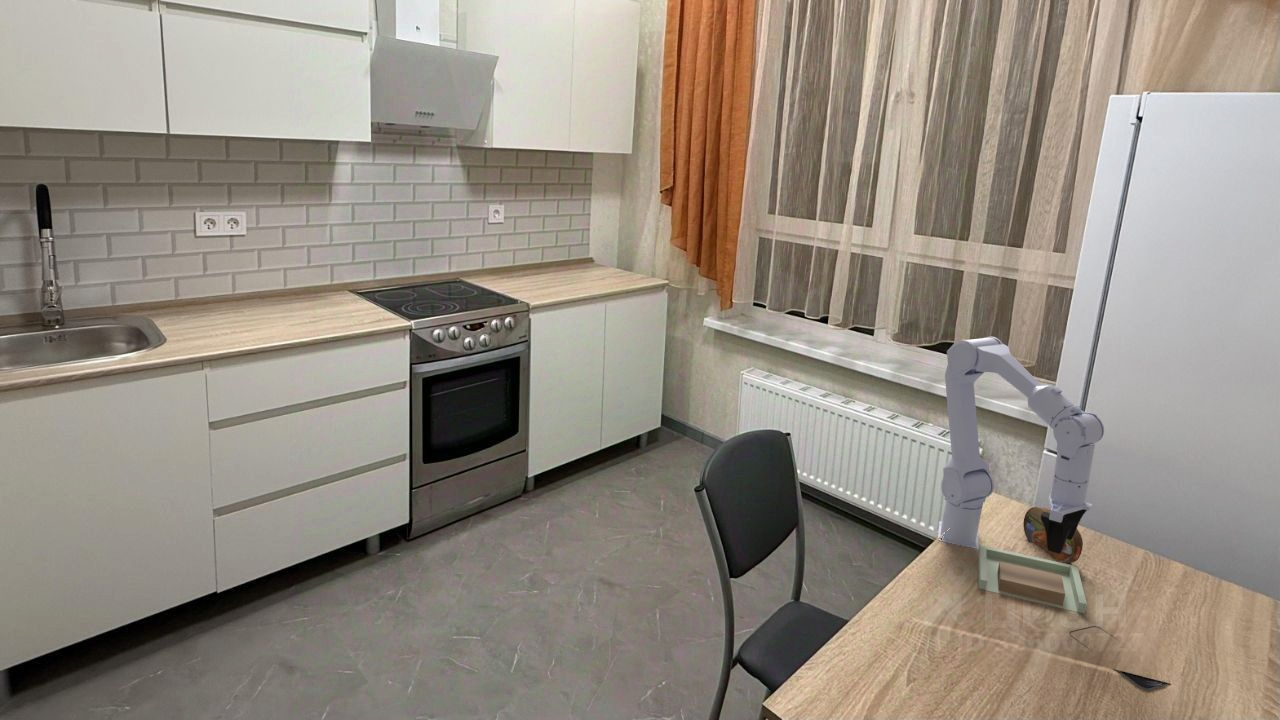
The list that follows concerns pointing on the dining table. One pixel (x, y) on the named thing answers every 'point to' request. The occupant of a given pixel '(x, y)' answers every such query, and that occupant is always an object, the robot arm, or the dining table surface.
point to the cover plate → (1031, 583)
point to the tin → (1038, 536)
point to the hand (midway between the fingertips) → (1060, 544)
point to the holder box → (1070, 573)
